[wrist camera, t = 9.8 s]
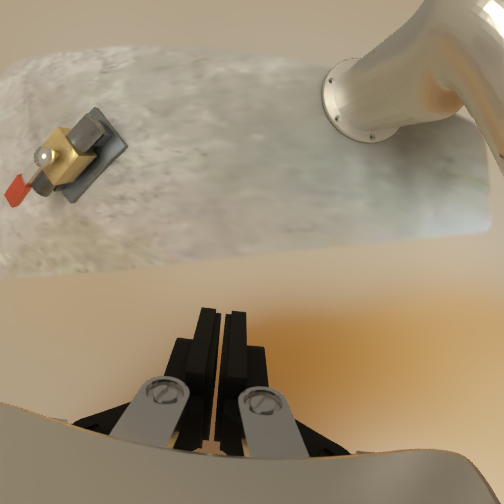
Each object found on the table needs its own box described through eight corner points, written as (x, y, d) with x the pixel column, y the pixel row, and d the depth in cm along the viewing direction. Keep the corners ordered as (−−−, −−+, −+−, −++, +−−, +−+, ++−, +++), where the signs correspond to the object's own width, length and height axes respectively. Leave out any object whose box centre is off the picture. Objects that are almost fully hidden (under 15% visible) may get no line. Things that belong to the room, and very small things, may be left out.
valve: (97, 108, 37) (63, 98, 28) (128, 146, 39) (97, 143, 30) (47, 164, 39) (9, 168, 30) (74, 202, 41) (38, 213, 32)
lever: (48, 142, 29) (42, 142, 28) (58, 156, 30) (51, 156, 28) (10, 192, 31) (3, 194, 29) (19, 206, 31) (12, 208, 30)
